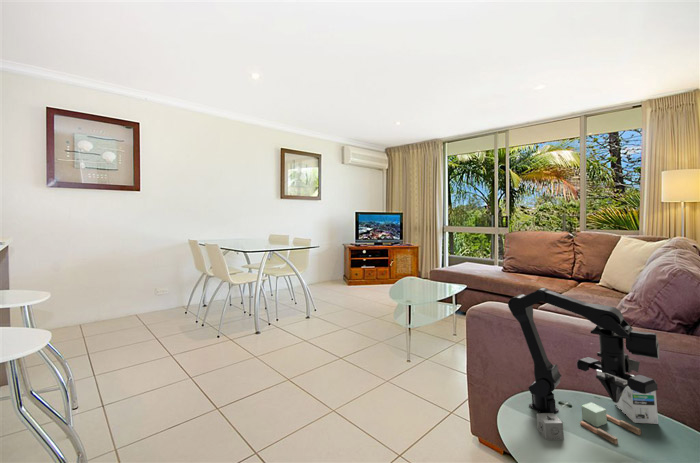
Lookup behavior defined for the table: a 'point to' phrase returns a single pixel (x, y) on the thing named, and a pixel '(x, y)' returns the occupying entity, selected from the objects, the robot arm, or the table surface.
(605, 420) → the sage block
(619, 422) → the pair of wooden sticks
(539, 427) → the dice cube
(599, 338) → the robot arm
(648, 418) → the light bulb box
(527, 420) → the table surface
